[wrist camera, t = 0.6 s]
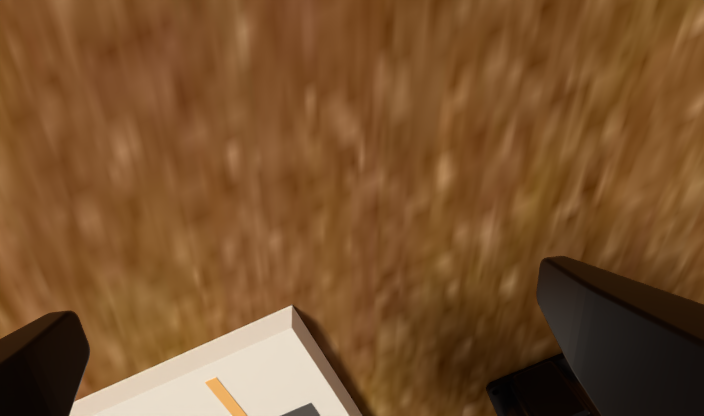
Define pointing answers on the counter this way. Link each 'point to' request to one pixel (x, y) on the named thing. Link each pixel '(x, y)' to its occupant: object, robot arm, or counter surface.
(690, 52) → the counter surface
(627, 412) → the robot arm
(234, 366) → the fader panel
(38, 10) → the counter surface
